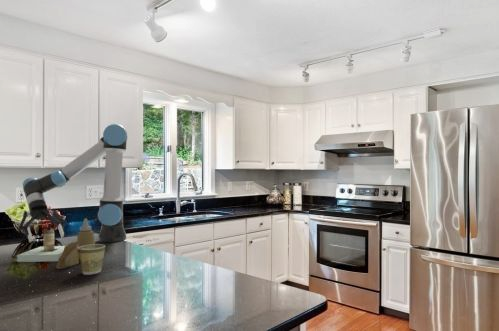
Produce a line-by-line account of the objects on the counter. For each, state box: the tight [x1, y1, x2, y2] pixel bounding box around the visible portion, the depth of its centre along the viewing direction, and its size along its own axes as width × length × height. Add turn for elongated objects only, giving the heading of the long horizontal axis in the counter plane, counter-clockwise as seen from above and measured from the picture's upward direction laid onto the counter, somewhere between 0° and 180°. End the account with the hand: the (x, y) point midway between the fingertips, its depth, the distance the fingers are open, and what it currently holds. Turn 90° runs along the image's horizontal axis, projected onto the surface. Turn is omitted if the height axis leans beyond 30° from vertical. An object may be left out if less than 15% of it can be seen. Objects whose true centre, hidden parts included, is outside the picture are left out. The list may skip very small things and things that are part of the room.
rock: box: [55, 241, 80, 270], centre depth 152 cm, size 11×9×10 cm
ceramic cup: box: [77, 243, 106, 276], centre depth 143 cm, size 13×10×10 cm
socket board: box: [16, 245, 66, 263], centre depth 169 cm, size 18×18×3 cm
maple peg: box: [43, 229, 55, 252], centre depth 169 cm, size 4×4×12 cm
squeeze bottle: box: [76, 217, 96, 256], centre depth 165 cm, size 8×8×18 cm
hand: (47, 238), depth 169 cm, fingers open, 13 cm apart
